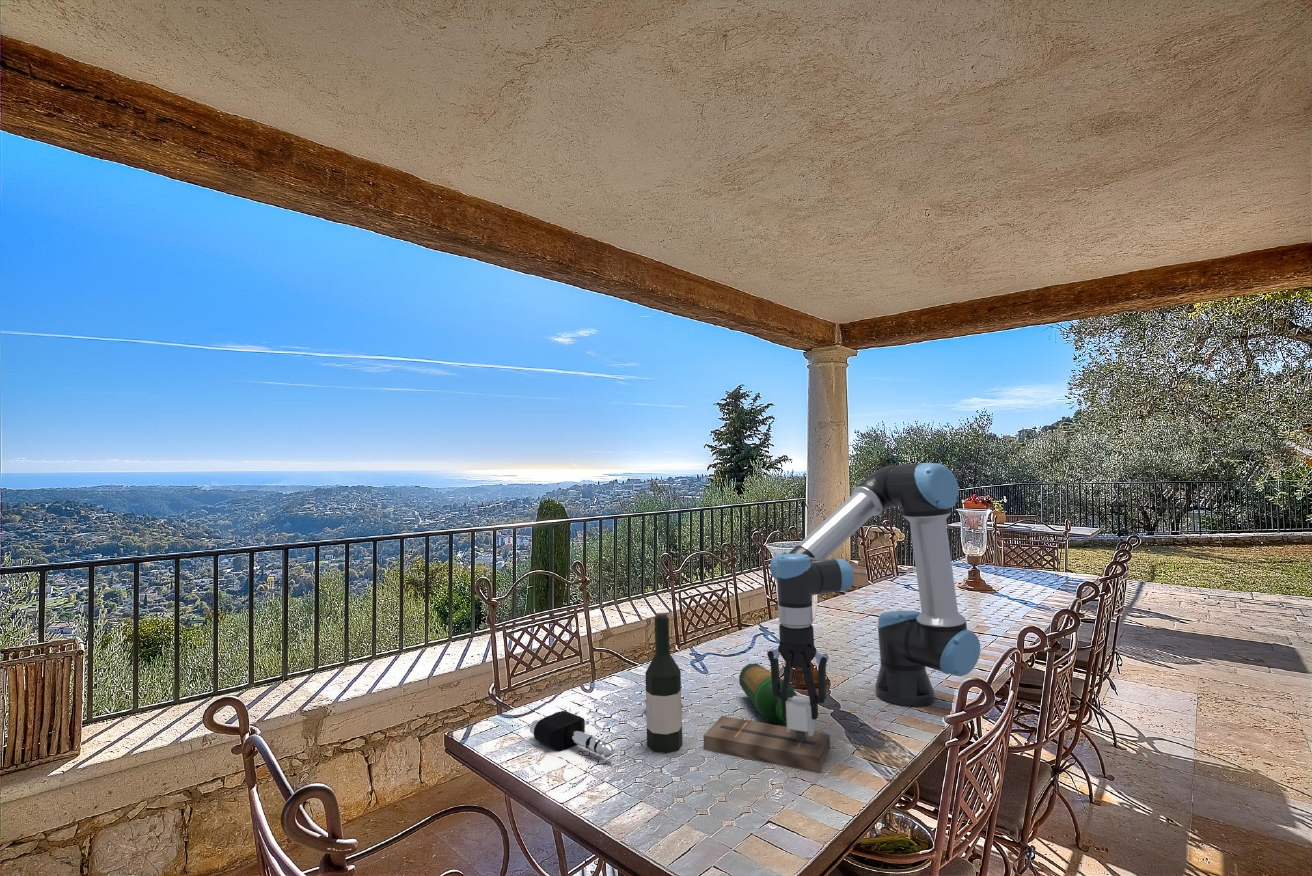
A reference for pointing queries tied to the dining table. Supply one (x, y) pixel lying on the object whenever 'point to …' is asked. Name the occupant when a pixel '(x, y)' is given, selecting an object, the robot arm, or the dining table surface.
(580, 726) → the audio adapter
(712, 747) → the fader board
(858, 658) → the dining table surface
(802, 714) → the fader knob
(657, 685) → the wine bottle
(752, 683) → the bottle
